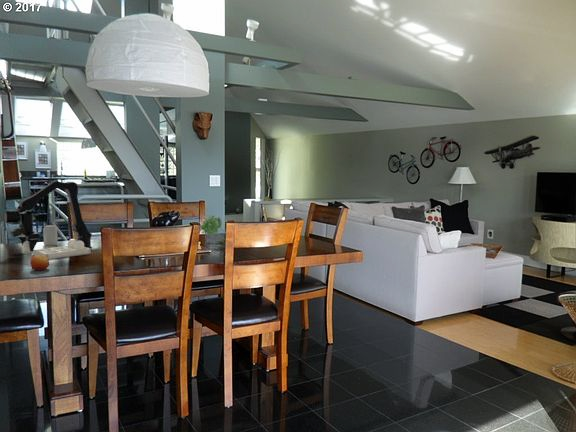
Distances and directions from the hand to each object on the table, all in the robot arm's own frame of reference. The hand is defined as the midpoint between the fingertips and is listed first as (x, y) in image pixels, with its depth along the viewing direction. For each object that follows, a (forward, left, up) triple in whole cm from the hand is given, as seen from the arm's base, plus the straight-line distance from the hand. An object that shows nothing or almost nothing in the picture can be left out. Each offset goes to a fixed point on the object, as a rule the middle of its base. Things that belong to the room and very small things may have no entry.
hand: (27, 250), depth 252 cm
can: (-20, -18, -2) cm, 27 cm away
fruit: (+13, +47, -2) cm, 49 cm away
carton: (-11, +17, -2) cm, 20 cm away
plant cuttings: (-98, +44, -2) cm, 108 cm away
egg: (0, 0, -2) cm, 2 cm away
